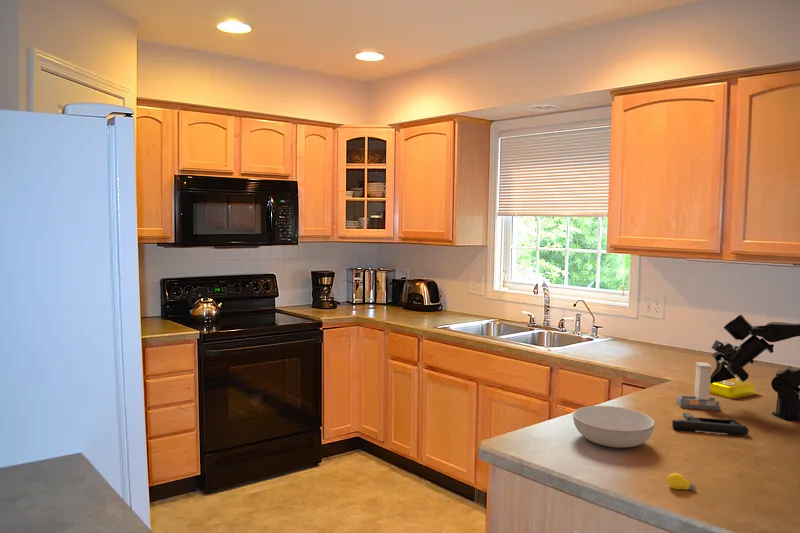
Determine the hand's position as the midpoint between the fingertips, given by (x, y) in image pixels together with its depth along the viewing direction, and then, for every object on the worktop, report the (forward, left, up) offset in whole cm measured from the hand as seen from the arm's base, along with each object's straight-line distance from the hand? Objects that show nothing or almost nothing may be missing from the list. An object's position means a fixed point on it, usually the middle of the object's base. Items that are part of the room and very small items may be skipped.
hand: (708, 382), depth 202 cm
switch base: (+1, +3, -8) cm, 9 cm away
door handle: (-18, +12, -9) cm, 24 cm away
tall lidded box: (0, +2, -7) cm, 7 cm away
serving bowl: (-30, +46, -8) cm, 56 cm away
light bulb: (-60, +43, -8) cm, 74 cm away
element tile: (+19, -18, -9) cm, 28 cm away
